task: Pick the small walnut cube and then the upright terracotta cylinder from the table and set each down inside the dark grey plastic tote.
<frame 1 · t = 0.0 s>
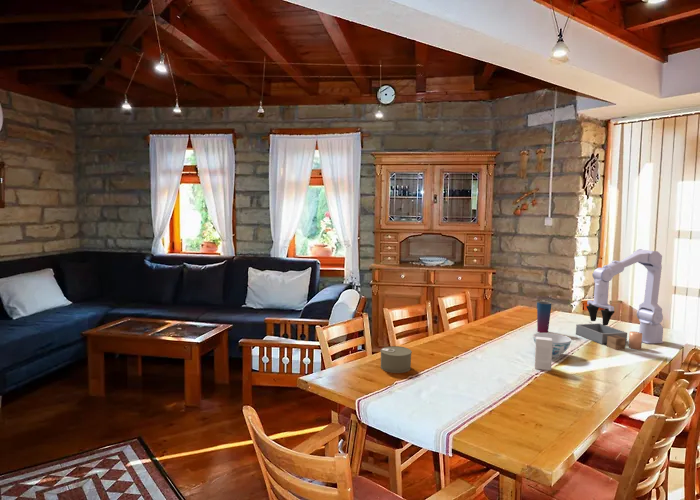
hand: (599, 323, 220), 10 cm above the table, tool pointing down, fingers open, 7 cm apart
terracotta cylinder: (634, 348, 216), on the table
cup: (542, 332, 242), on the table
can: (395, 368, 185), on the table
walnut cube: (615, 347, 216), on the table
skincare box: (542, 368, 187), on the table
tote: (600, 338, 231), on the table
chinaware: (550, 355, 204), on the table
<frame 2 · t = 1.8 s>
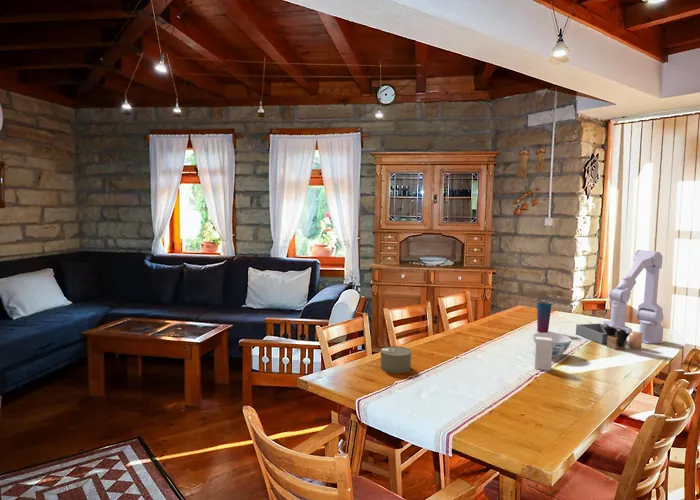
hand: (615, 344, 216), 1 cm above the table, tool pointing down, fingers closed on walnut cube, 5 cm apart
walnut cube: (615, 347, 216), on the table, touching gripper
everything else where it was.
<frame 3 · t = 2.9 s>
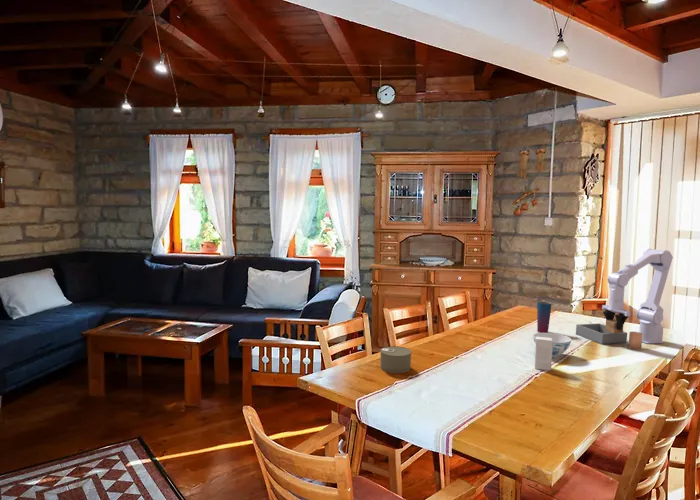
hand: (614, 328, 221), 8 cm above the table, tool pointing down, fingers closed on walnut cube, 5 cm apart
walnut cube: (614, 331, 221), point 6 cm above the table, touching gripper
everything else where it was.
when the fingers open (5 cm above the table, at t = 4.3 s): walnut cube drops 2 cm, resting on tote.
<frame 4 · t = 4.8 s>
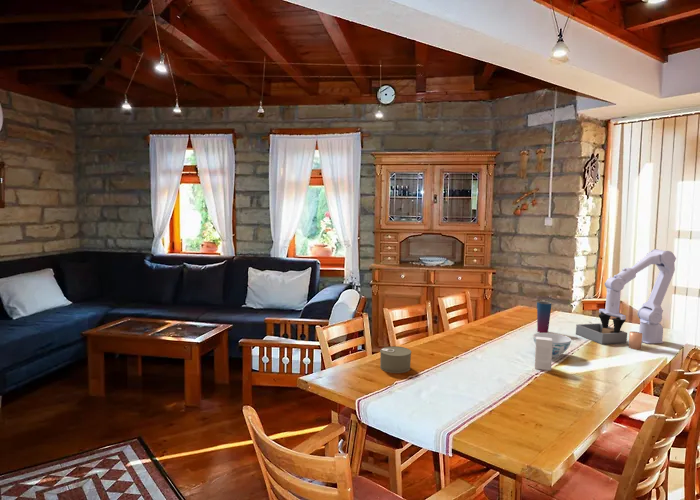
hand: (610, 331, 227), 5 cm above the table, tool pointing down, fingers open, 7 cm apart
walnut cube: (609, 339, 227), point 1 cm above the table, touching tote
everything else where it was.
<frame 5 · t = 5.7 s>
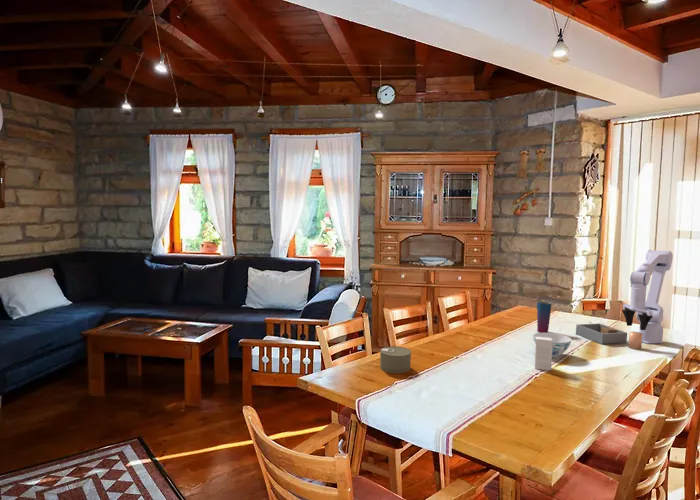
hand: (635, 327, 216), 9 cm above the table, tool pointing down, fingers open, 7 cm apart
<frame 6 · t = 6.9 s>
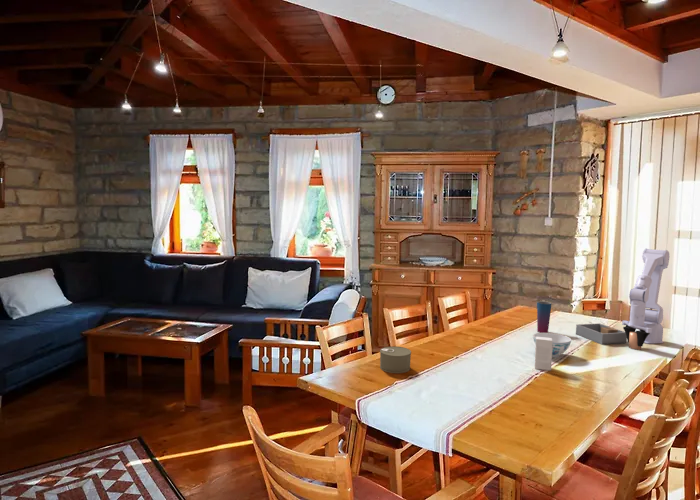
hand: (635, 344, 216), 2 cm above the table, tool pointing down, fingers closed on terracotta cylinder, 5 cm apart
terracotta cylinder: (634, 347, 216), on the table, touching gripper
everything else where it was.
when the fingers open (4 cm above the table, at t = 10.4 s): terracotta cylinder drops 1 cm, resting on tote.
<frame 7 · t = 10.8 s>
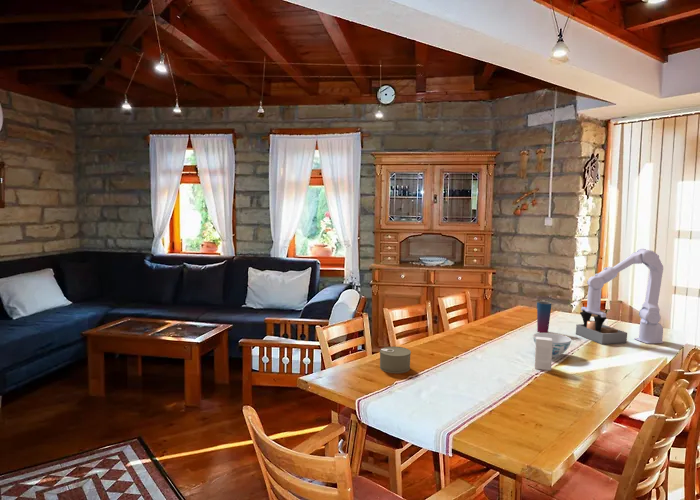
hand: (592, 328, 233), 4 cm above the table, tool pointing down, fingers open, 7 cm apart
terracotta cylinder: (591, 335, 233), point 1 cm above the table, touching tote
everything else where it was.
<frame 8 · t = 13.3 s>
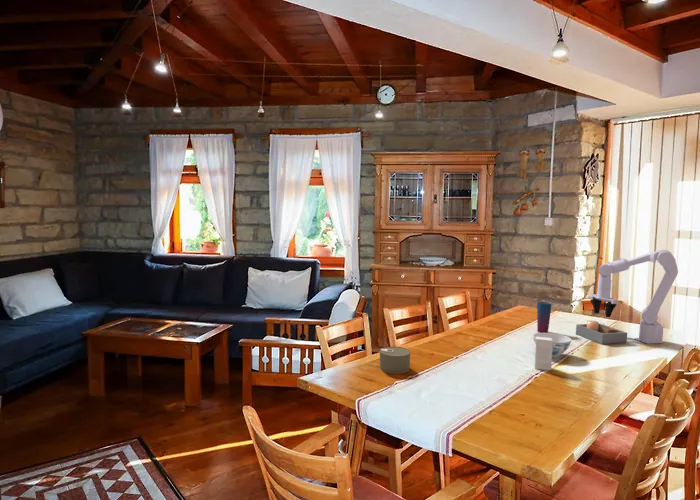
hand: (602, 315, 237), 10 cm above the table, tool pointing down, fingers open, 7 cm apart
nothing on the table moved.
at the end: walnut cube inside the target area on the tote (3.6 cm from its centre), point 0.6 cm above the tote's base; terracotta cylinder inside the target area on the tote (3.8 cm from its centre), point 0.6 cm above the tote's base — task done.
